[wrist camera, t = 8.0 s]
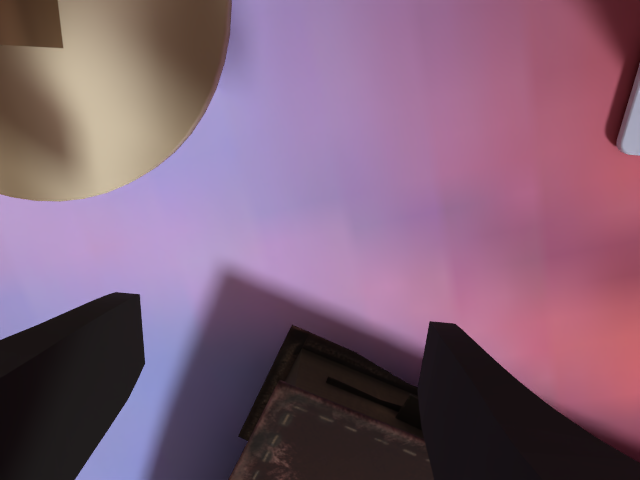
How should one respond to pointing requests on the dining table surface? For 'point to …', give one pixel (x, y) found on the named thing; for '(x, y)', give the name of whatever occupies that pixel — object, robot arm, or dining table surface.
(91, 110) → the lid
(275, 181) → the dining table surface
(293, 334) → the diary
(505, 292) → the dining table surface
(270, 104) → the dining table surface
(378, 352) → the dining table surface
